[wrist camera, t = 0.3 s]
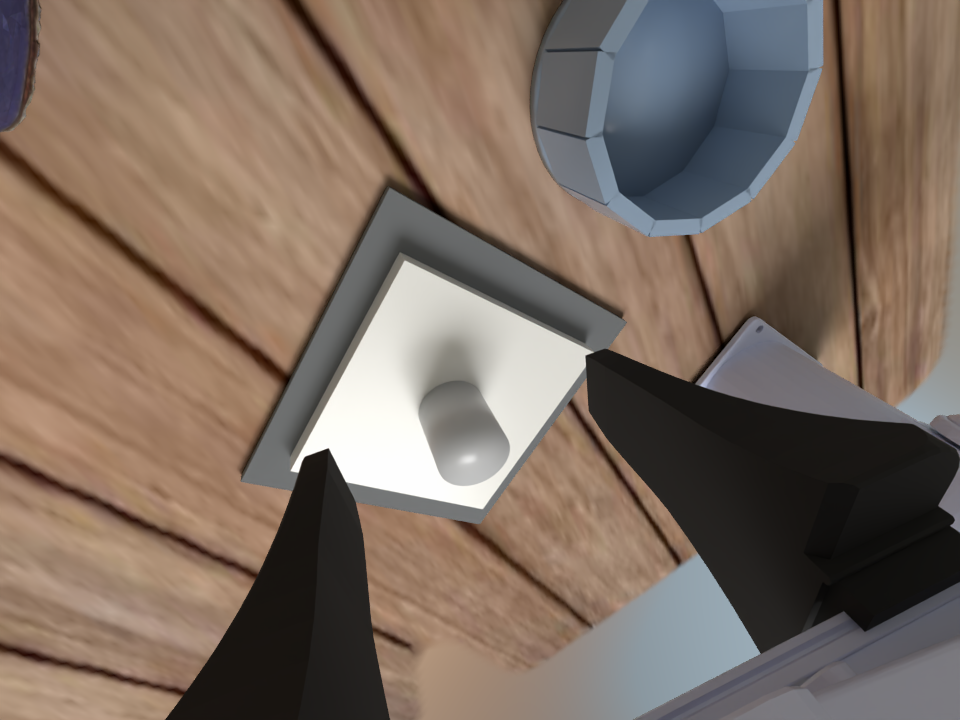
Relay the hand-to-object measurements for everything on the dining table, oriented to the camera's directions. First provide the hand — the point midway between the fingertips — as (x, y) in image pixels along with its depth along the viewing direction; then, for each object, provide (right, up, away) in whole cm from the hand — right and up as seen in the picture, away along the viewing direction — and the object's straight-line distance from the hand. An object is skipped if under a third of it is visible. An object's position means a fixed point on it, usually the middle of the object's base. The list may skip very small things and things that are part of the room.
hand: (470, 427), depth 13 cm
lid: (-1, 0, +11) cm, 11 cm away
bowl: (+6, +13, +7) cm, 16 cm away
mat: (-2, 0, +11) cm, 11 cm away
